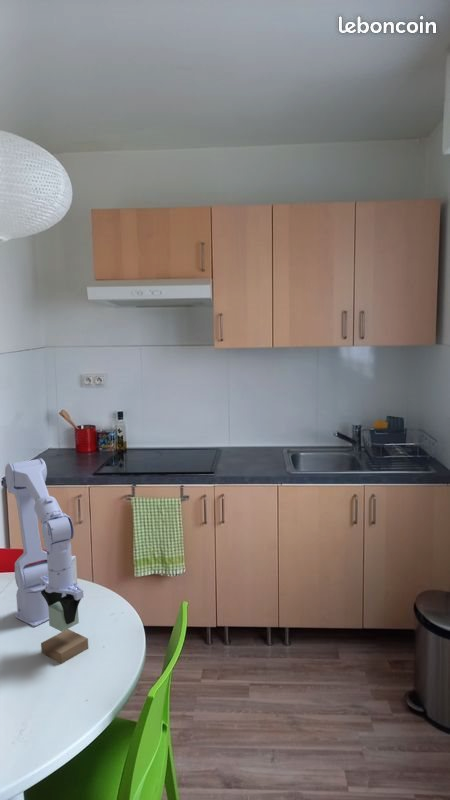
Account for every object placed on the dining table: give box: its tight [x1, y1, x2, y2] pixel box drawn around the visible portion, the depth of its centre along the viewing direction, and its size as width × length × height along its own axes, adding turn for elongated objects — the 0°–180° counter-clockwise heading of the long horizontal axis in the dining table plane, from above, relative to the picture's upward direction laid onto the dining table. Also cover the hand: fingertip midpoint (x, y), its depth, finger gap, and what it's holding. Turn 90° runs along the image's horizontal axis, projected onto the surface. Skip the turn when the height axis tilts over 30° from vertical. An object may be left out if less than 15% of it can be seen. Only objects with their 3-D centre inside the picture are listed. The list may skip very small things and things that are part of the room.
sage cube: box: [48, 602, 80, 633], centre depth 139 cm, size 5×5×5 cm
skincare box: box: [62, 555, 78, 597], centre depth 167 cm, size 6×4×12 cm
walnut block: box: [40, 628, 89, 665], centre depth 140 cm, size 8×8×3 cm
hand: (63, 619), depth 139 cm, fingers closed on sage cube, 5 cm apart
